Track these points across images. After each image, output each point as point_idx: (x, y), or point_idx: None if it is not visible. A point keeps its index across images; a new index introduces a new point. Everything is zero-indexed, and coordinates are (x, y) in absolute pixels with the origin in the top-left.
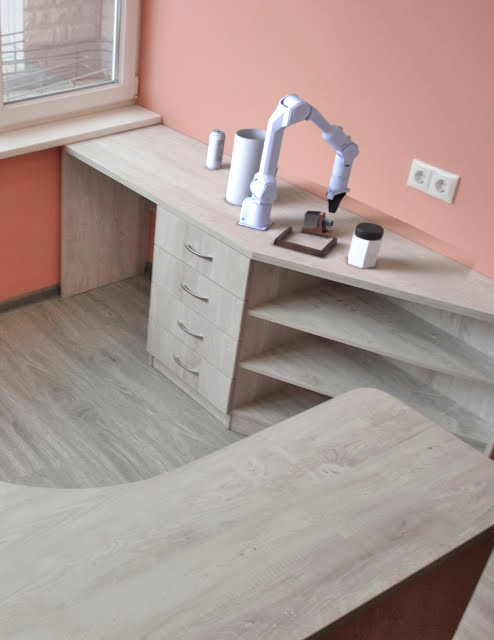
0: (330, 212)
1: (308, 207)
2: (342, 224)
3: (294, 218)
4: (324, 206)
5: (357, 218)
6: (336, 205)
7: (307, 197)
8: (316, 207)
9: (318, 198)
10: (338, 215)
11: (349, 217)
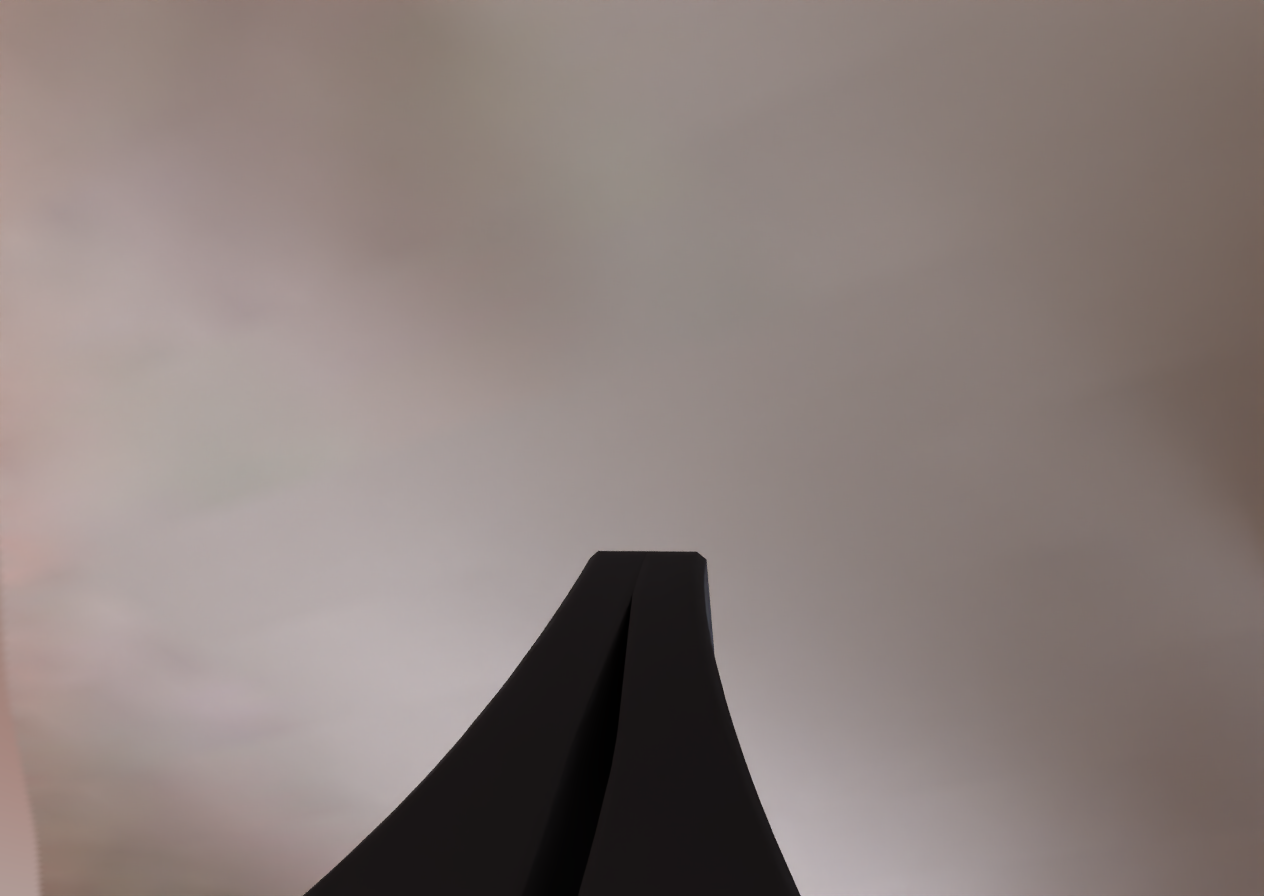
0: (710, 634)
1: None
2: (706, 165)
3: (982, 878)
4: (182, 699)
5: (41, 9)
6: (745, 781)
7: (144, 891)
8: (322, 764)
9: (34, 807)
10: (297, 426)
11: (177, 204)
